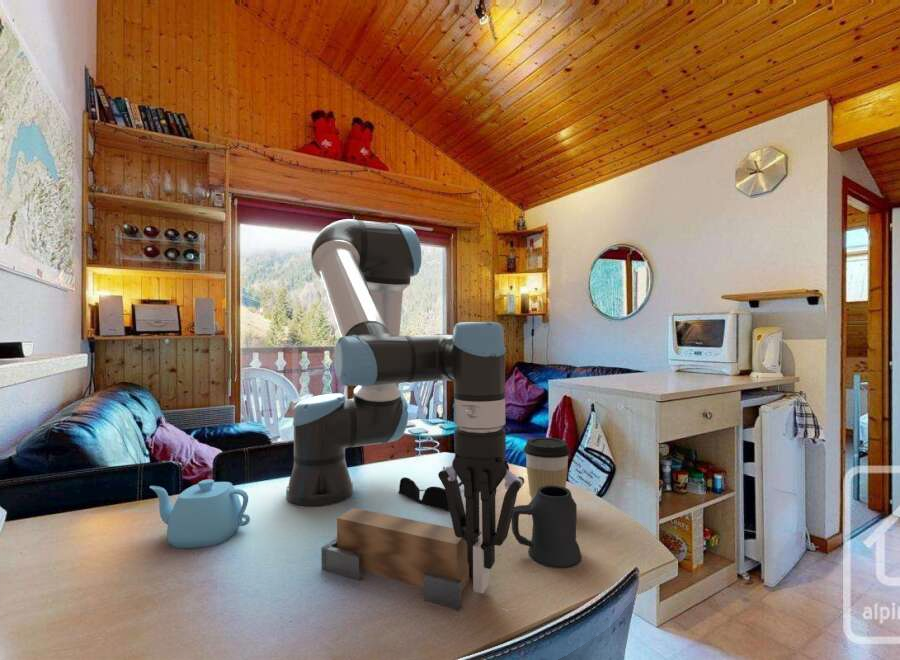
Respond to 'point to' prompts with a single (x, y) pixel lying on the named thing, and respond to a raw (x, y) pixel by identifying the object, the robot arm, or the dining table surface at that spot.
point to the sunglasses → (425, 494)
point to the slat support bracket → (341, 561)
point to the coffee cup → (546, 462)
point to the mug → (551, 527)
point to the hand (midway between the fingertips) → (481, 587)
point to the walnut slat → (403, 547)
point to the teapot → (203, 514)
